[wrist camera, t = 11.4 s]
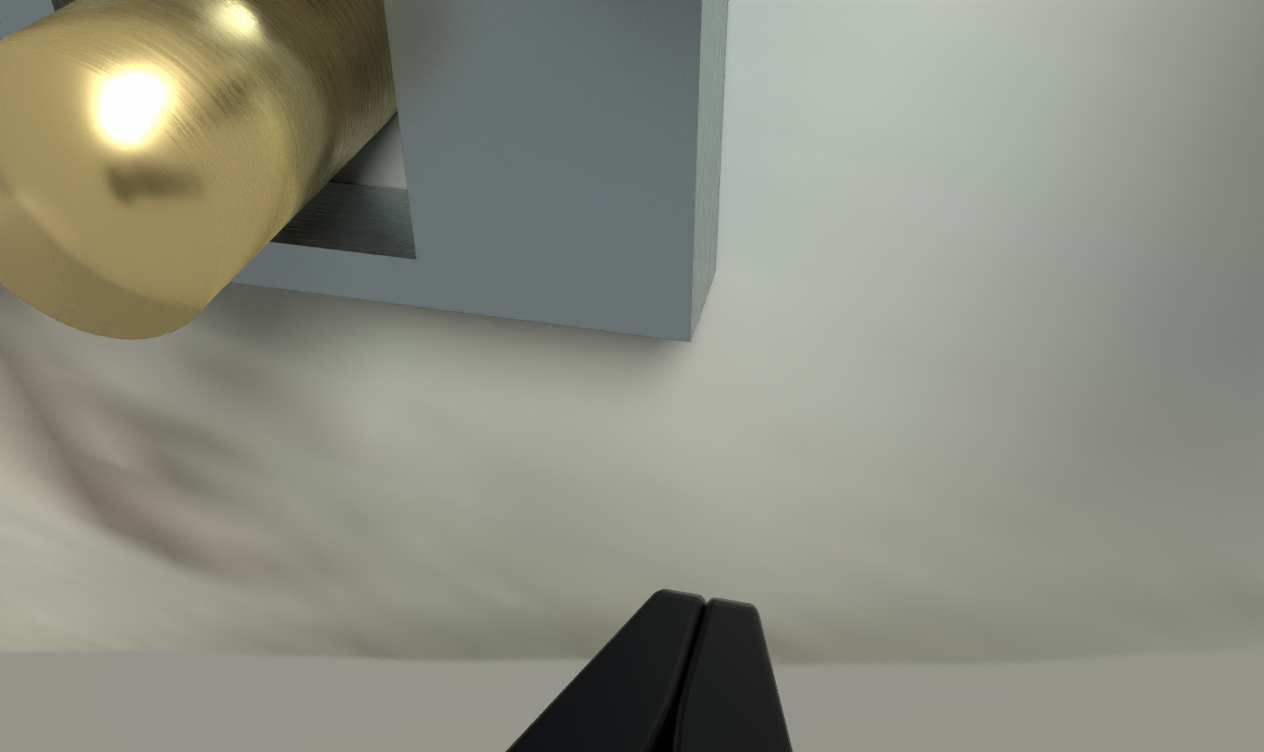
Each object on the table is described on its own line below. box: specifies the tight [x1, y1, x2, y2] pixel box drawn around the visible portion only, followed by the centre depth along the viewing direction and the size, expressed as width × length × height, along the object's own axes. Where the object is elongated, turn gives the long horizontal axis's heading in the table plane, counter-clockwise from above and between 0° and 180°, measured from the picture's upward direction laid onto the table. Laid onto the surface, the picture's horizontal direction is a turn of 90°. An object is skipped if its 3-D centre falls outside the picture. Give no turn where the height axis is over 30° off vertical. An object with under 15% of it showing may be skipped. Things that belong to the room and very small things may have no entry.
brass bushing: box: [0, 0, 397, 339], centre depth 19 cm, size 4×4×7 cm
